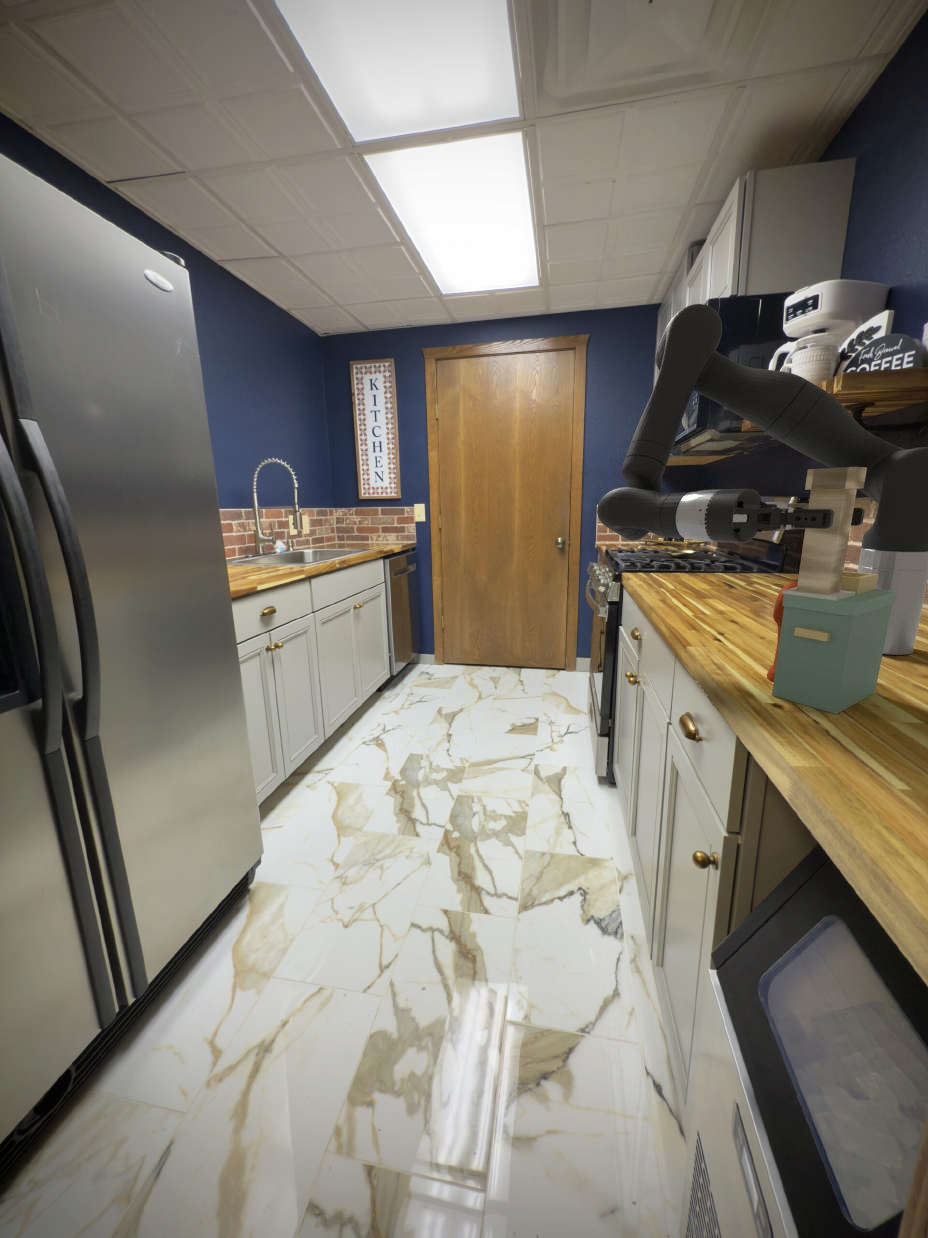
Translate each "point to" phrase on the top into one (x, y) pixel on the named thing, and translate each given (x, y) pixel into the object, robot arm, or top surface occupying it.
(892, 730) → the top surface
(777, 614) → the toy drill
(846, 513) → the wooden key
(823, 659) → the tool chest
